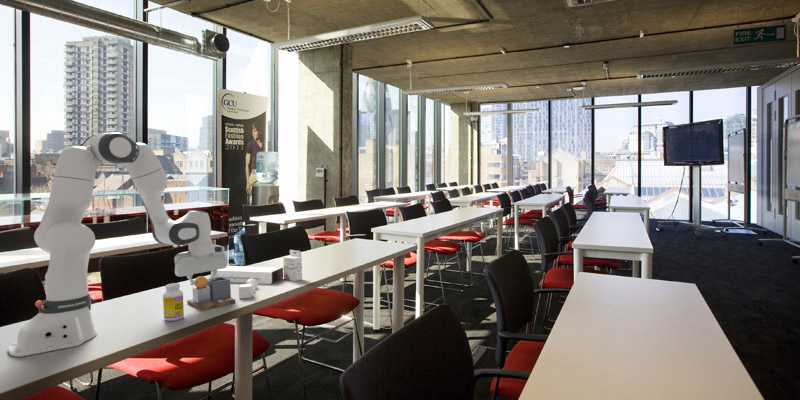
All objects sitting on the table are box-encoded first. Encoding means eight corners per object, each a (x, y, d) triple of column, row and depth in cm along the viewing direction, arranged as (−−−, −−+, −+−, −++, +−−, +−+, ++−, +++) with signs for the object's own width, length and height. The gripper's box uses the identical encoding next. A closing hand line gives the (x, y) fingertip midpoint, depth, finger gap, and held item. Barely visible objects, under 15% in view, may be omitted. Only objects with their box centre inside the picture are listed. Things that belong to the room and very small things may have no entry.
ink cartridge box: (283, 279, 227) (282, 250, 226) (290, 277, 231) (289, 249, 230) (295, 281, 222) (294, 252, 221) (302, 279, 226) (301, 250, 226)
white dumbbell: (251, 298, 193) (250, 286, 193) (238, 299, 193) (238, 286, 192) (258, 287, 213) (258, 275, 213) (247, 287, 212) (246, 276, 212)
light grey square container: (198, 304, 181) (197, 289, 180) (193, 301, 184) (192, 287, 184) (210, 301, 184) (209, 286, 184) (205, 299, 188) (204, 285, 187)
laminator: (211, 282, 226) (210, 269, 226) (225, 276, 238) (225, 265, 238) (272, 284, 218) (272, 272, 218) (284, 278, 230) (284, 267, 230)
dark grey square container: (213, 301, 184) (212, 282, 183) (205, 298, 189) (205, 279, 188) (230, 297, 189) (230, 279, 189) (222, 294, 194) (222, 276, 194)
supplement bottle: (175, 322, 163) (174, 287, 163) (159, 321, 165) (158, 286, 164) (187, 316, 170) (186, 282, 169) (172, 315, 171) (171, 282, 170)
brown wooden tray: (201, 310, 177) (201, 305, 176) (187, 303, 186) (187, 299, 186) (235, 302, 187) (235, 298, 187) (220, 296, 196) (220, 292, 196)
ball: (197, 290, 180) (197, 278, 180) (192, 288, 184) (192, 276, 183) (210, 288, 184) (209, 276, 184) (204, 286, 187) (204, 274, 187)
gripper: (176, 254, 173) (179, 289, 174) (227, 246, 188) (230, 278, 189) (170, 253, 178) (173, 287, 179) (221, 245, 193) (223, 276, 194)
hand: (202, 282), depth 184 cm, fingers open, 6 cm apart
